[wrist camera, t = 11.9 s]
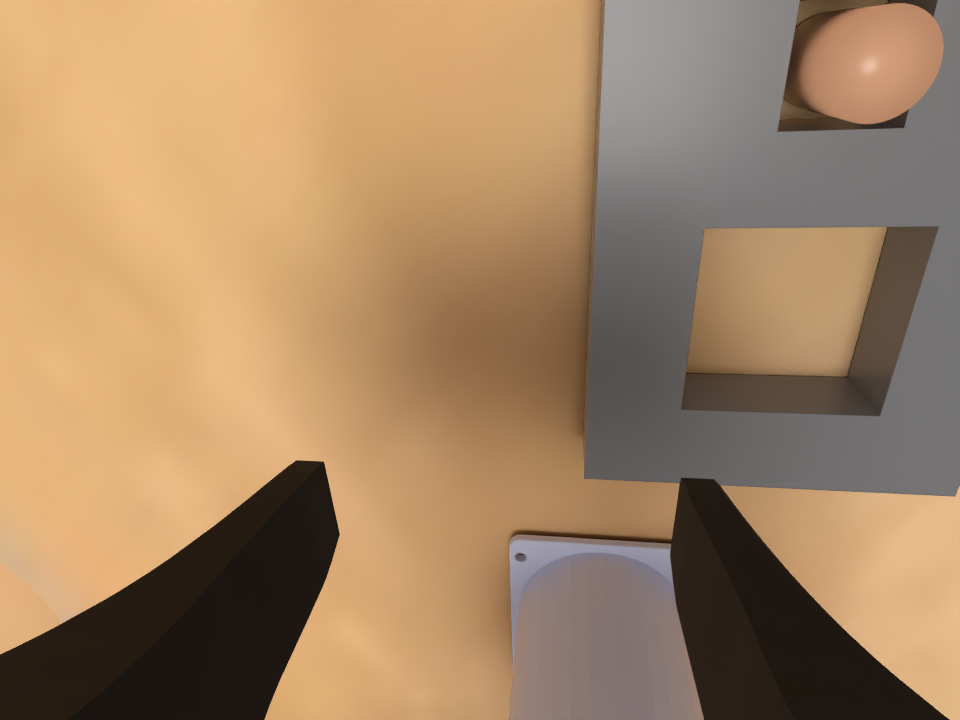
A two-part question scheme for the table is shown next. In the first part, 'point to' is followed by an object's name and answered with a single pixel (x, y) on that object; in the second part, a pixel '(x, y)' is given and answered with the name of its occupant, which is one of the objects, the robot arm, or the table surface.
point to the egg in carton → (864, 62)
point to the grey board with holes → (765, 204)
